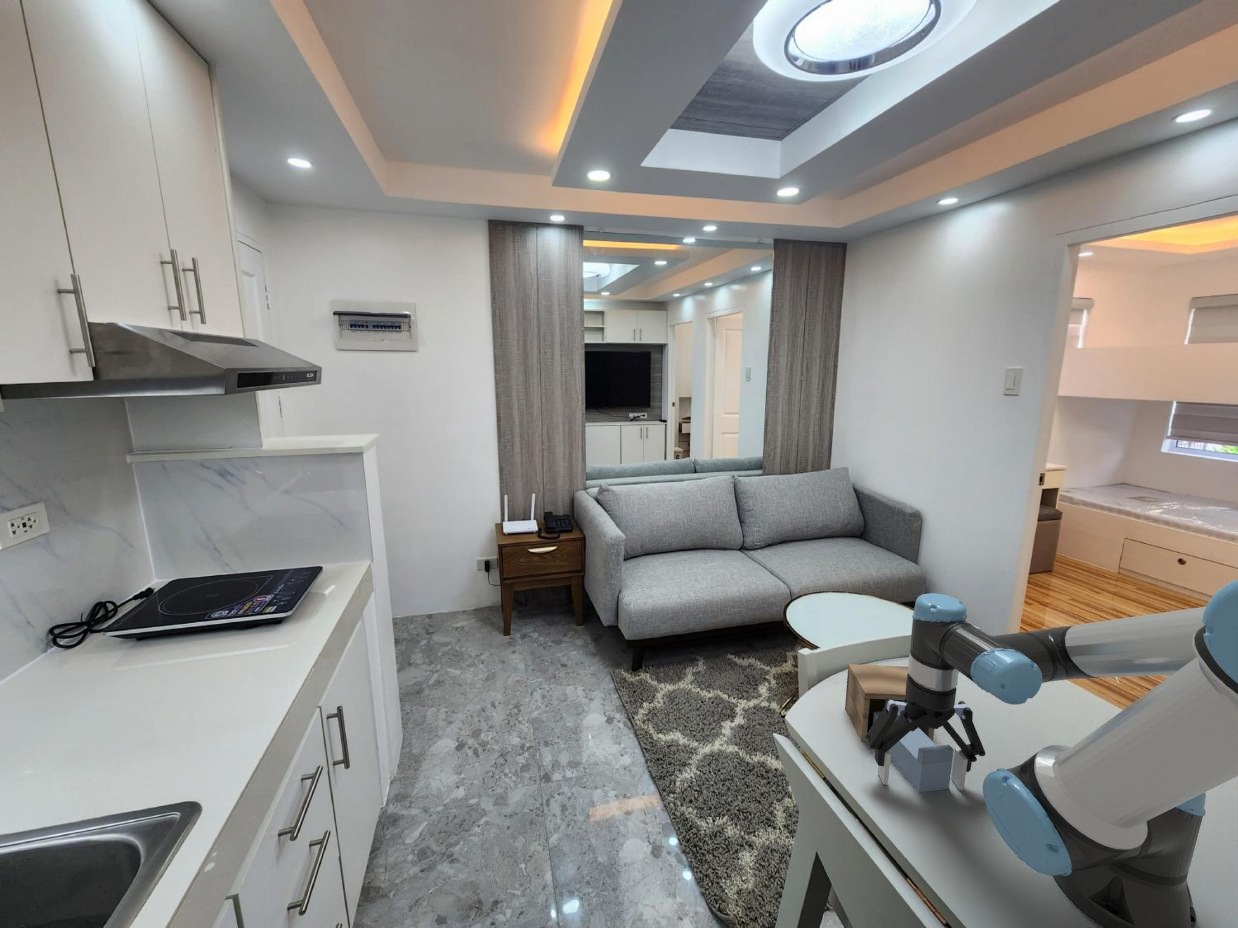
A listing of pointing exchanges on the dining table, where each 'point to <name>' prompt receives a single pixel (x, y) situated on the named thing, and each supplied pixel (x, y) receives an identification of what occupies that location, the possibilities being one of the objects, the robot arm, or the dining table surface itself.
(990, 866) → the dining table surface
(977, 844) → the dining table surface
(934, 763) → the lidded box
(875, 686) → the open wooden crate
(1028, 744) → the dining table surface
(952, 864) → the dining table surface
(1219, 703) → the robot arm
